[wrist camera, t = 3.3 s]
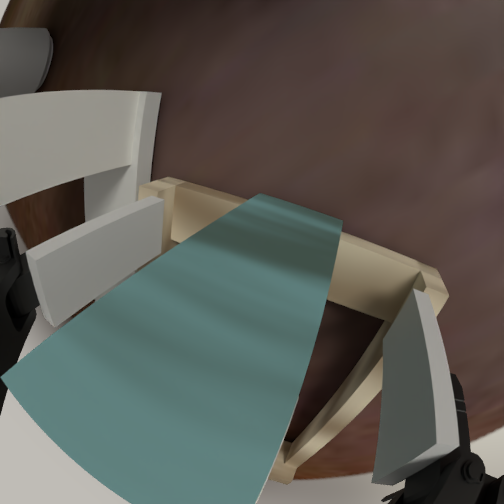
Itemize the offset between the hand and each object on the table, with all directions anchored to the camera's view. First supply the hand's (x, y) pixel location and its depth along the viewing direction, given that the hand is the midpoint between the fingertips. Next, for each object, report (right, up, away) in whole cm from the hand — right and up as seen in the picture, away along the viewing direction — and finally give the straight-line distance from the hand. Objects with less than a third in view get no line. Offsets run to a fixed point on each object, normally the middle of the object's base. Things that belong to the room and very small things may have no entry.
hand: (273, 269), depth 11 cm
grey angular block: (-10, 0, +8) cm, 13 cm away
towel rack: (-1, -7, +7) cm, 10 cm away
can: (-21, +19, +4) cm, 28 cm away
